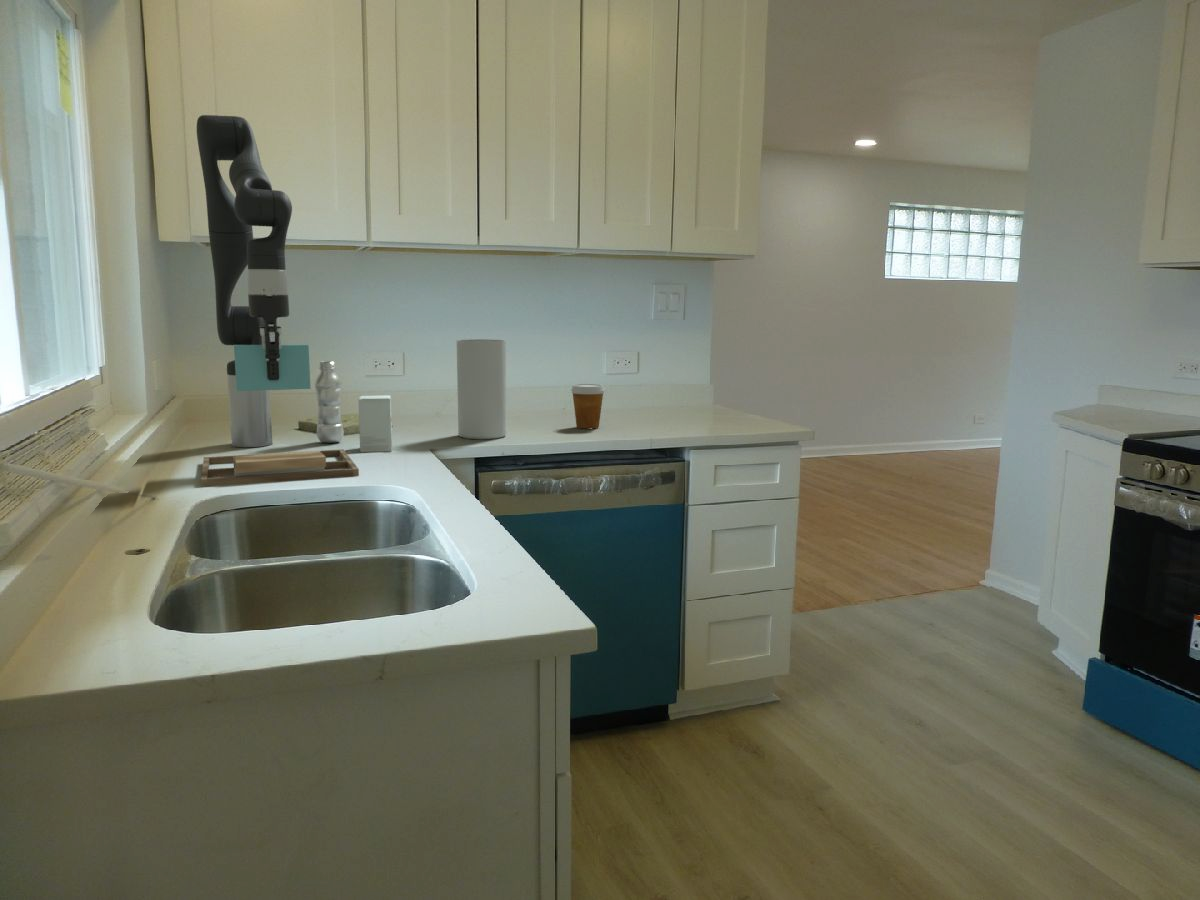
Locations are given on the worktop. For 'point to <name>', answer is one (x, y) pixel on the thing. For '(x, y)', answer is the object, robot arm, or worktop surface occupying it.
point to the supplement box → (375, 423)
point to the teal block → (255, 368)
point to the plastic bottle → (328, 404)
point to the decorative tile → (348, 422)
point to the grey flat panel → (279, 471)
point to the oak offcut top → (278, 461)
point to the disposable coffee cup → (587, 404)
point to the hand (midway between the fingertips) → (273, 378)
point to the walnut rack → (276, 477)
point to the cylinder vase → (481, 388)
